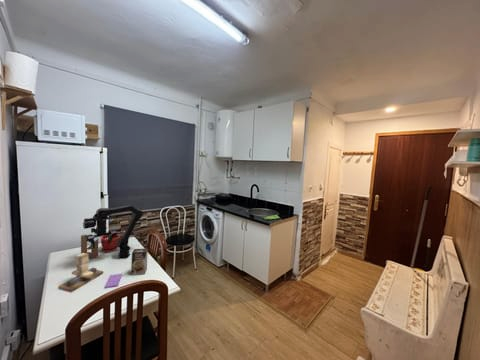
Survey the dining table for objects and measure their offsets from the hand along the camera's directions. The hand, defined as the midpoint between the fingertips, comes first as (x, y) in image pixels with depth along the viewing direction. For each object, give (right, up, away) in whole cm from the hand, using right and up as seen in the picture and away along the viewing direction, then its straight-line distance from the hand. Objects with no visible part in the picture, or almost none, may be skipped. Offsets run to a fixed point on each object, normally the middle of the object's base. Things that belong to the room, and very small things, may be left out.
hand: (101, 246), depth 141 cm
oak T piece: (+3, -11, -20) cm, 23 cm away
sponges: (+21, -17, -18) cm, 33 cm away
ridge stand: (+2, -15, -20) cm, 25 cm away
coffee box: (+32, -16, -7) cm, 36 cm away
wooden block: (-15, -12, +8) cm, 21 cm away
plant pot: (-8, -11, +22) cm, 26 cm away
